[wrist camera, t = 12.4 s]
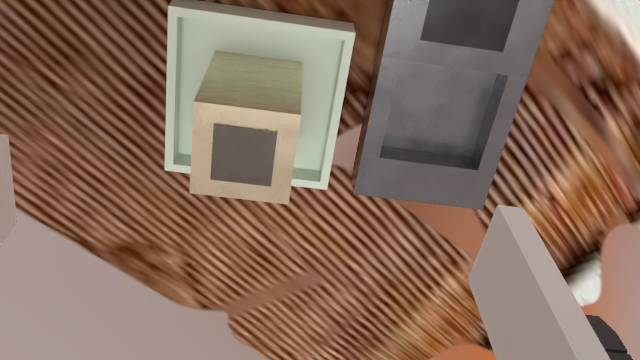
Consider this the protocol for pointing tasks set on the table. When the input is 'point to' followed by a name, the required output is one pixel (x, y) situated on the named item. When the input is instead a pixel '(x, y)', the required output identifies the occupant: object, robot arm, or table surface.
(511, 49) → the grey compartment tray
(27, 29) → the table surface
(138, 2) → the table surface
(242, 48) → the parts tray
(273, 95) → the square wooden post
